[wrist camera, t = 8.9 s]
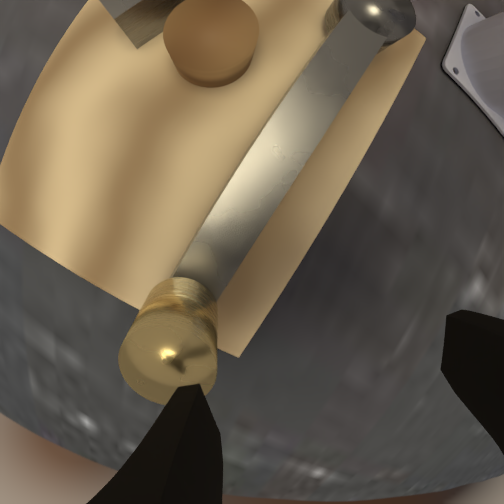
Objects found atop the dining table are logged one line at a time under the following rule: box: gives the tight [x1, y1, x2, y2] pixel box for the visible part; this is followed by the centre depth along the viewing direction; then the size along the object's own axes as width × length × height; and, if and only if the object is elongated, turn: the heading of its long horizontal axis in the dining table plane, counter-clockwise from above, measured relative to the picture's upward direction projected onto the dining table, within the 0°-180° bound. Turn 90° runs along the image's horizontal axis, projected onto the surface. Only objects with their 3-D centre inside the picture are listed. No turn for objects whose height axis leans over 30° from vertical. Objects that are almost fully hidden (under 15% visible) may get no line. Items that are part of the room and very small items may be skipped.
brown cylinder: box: [163, 0, 259, 88], centre depth 12 cm, size 4×4×3 cm
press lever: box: [118, 0, 416, 405], centre depth 11 cm, size 19×4×7 cm, turn 148°
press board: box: [0, 0, 426, 358], centre depth 15 cm, size 18×22×1 cm
